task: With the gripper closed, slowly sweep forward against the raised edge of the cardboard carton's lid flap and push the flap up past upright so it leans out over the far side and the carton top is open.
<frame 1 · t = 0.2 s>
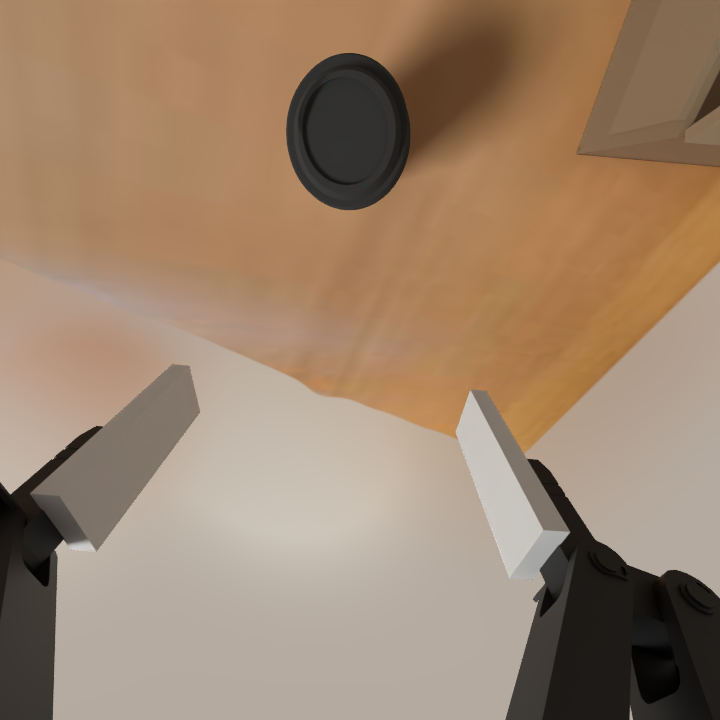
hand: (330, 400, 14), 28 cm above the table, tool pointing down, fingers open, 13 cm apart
coffee cup: (354, 157, 33), on the table
carton: (715, 61, 28), on the table
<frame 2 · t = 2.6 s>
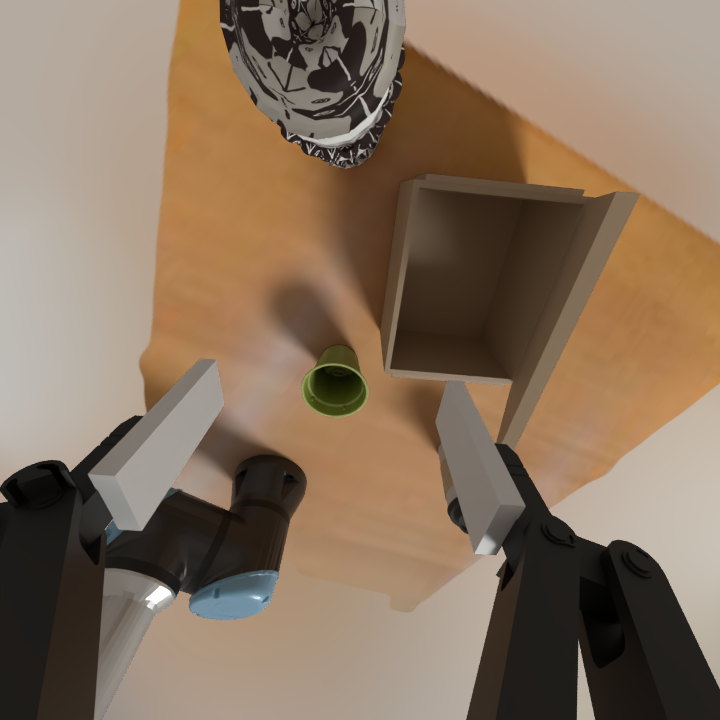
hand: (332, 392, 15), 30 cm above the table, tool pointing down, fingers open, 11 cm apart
coffee cup: (455, 448, 59), on the table
flap: (547, 330, 25), point 19 cm above the table, hinge at 60.0°
carton: (445, 271, 41), on the table
decorative candle: (345, 124, 33), on the table
plant pot: (339, 360, 49), on the table
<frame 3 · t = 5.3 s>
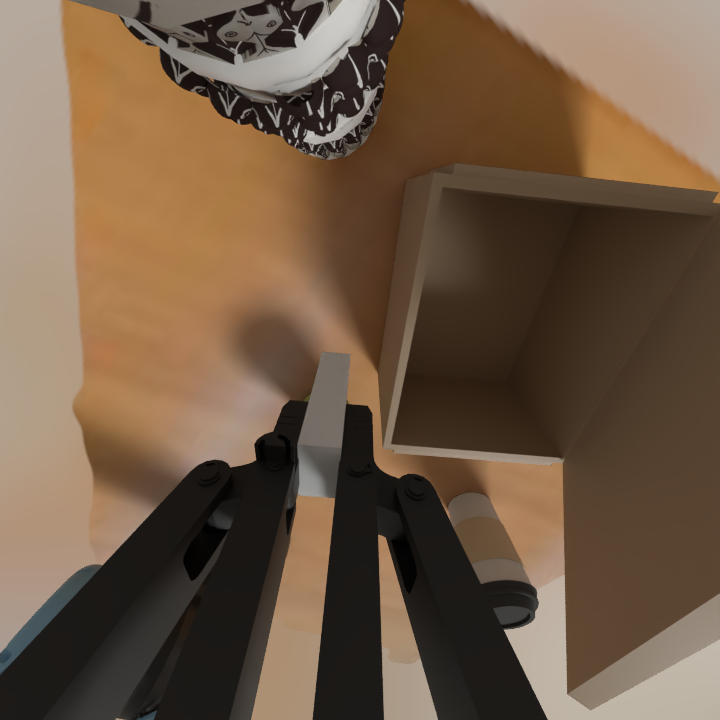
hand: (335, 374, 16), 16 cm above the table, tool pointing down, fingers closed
coffee cup: (469, 504, 48), on the table
flap: (663, 435, 14), point 19 cm above the table, hinge at 60.0°
carton: (465, 299, 31), on the table
decorative candle: (327, 94, 23), on the table
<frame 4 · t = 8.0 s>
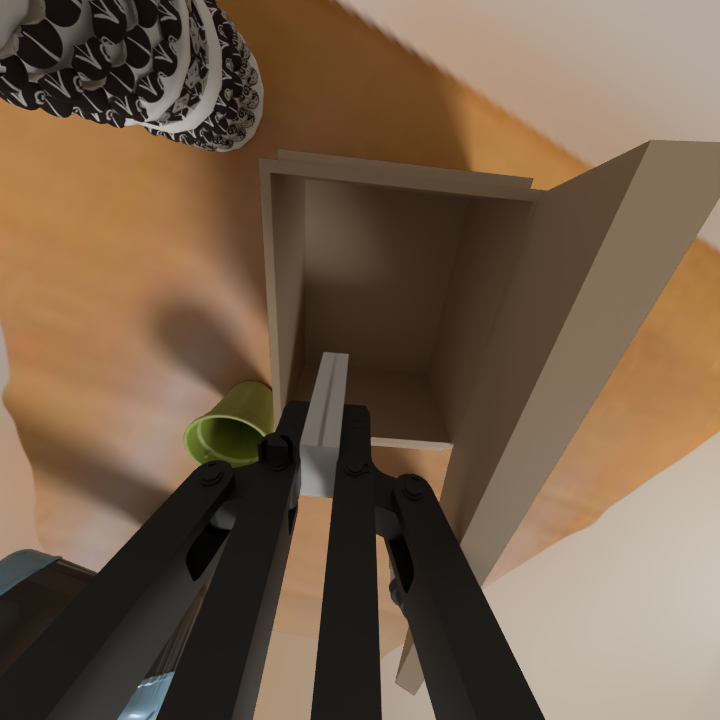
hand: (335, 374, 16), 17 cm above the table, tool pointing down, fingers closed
coffee cup: (410, 497, 49), on the table
flap: (485, 414, 15), point 20 cm above the table, hinge at 65.9°, touching hand
carton: (375, 290, 31), on the table
decorative candle: (212, 88, 24), on the table
plant pot: (255, 398, 39), on the table
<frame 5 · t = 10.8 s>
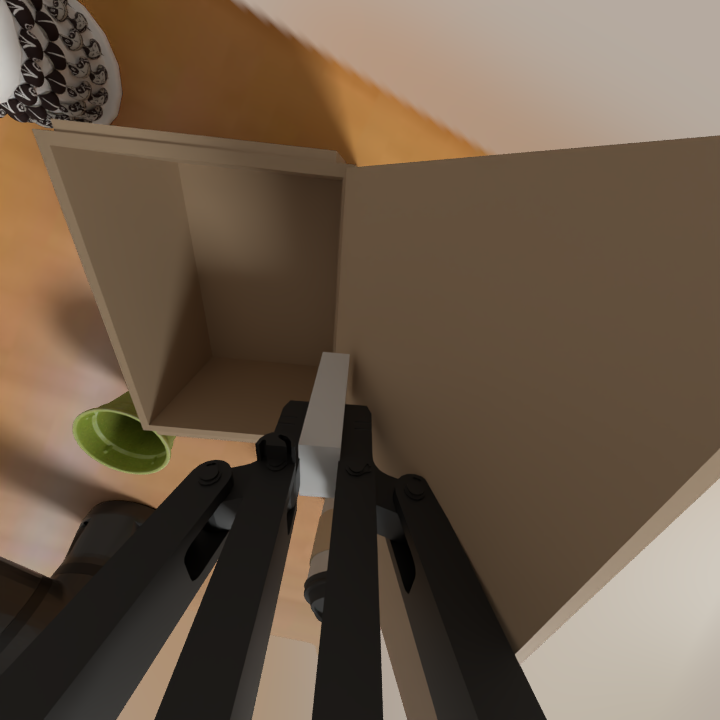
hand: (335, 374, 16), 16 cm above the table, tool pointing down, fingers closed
coffee cup: (347, 496, 48), on the table
flap: (387, 424, 13), point 20 cm above the table, hinge at 108.9°, touching gripper, hand
carton: (273, 281, 30), on the table
decorative candle: (65, 64, 22), on the table
plant pot: (171, 393, 38), on the table
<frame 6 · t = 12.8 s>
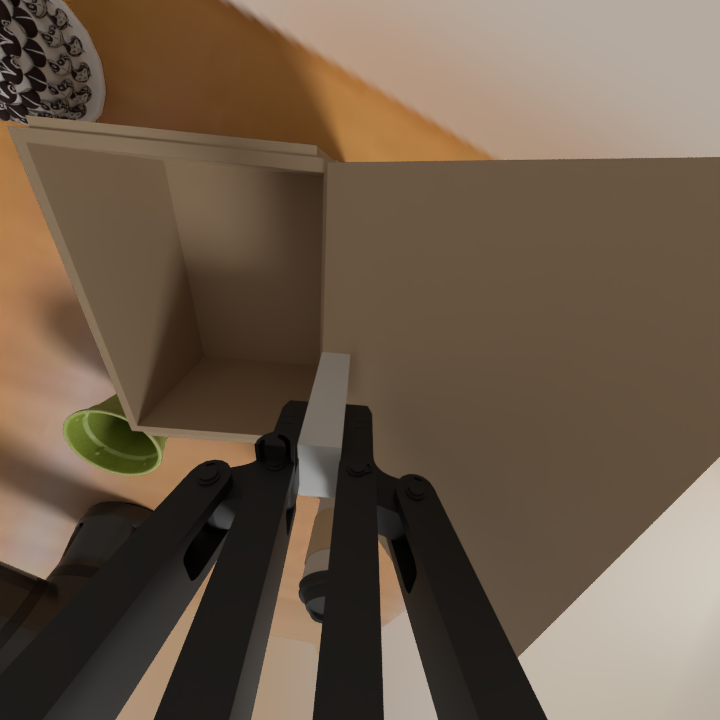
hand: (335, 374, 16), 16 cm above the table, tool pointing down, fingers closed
coffee cup: (343, 495, 47), on the table
flap: (406, 412, 14), point 19 cm above the table, hinge at 123.4°
carton: (263, 279, 30), on the table
decorative candle: (48, 61, 22), on the table
plant pot: (164, 393, 38), on the table
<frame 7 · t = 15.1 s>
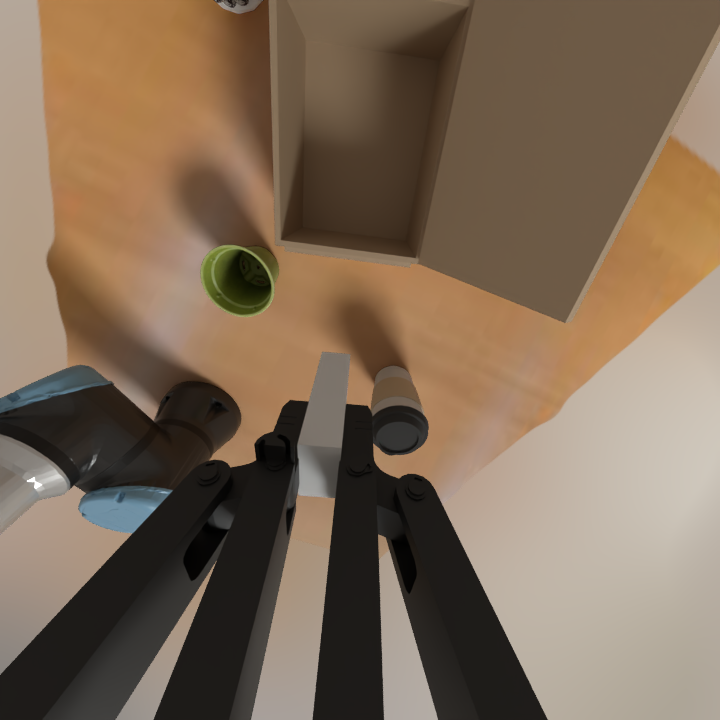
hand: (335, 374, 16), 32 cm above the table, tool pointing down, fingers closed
coffee cup: (393, 380, 55), on the table
flap: (522, 155, 22), point 19 cm above the table, hinge at 123.4°
carton: (362, 154, 38), on the table
plant pot: (260, 266, 46), on the table
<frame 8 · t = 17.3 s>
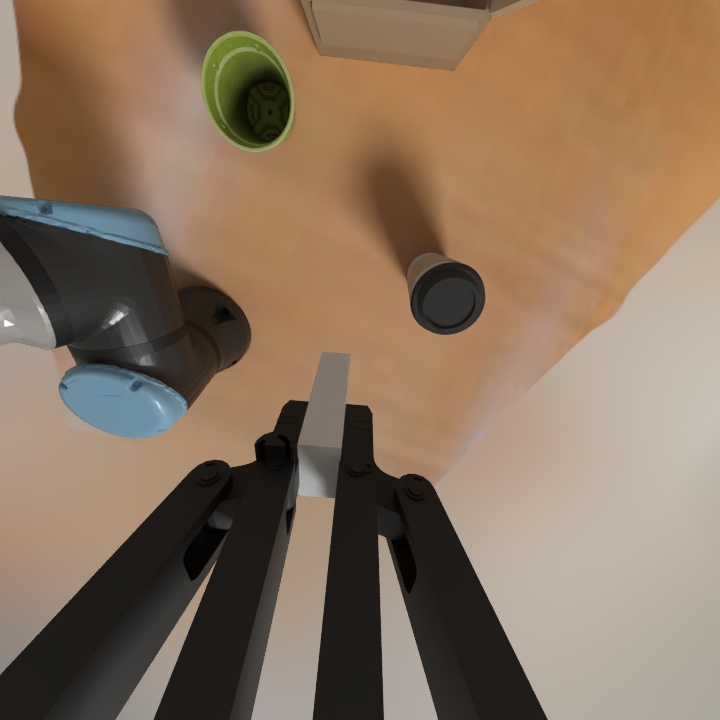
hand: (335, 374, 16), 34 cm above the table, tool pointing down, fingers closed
coffee cup: (428, 274, 47), on the table
plant pot: (271, 114, 38), on the table
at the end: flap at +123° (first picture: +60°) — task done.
